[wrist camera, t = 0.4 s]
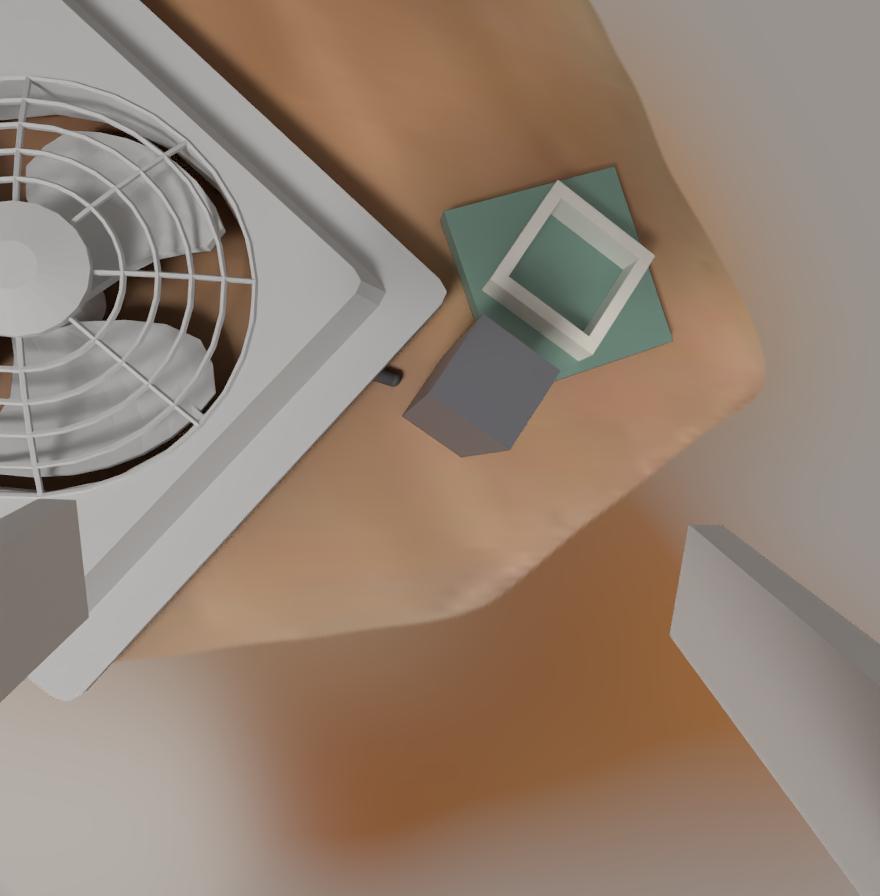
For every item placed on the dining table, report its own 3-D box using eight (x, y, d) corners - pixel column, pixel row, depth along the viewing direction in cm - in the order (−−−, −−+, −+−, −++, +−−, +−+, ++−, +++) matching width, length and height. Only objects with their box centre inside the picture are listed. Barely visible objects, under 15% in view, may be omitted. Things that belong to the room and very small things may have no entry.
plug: (402, 416, 36) (428, 393, 26) (443, 355, 36) (485, 310, 26) (461, 457, 36) (509, 450, 26) (501, 396, 37) (563, 367, 27)
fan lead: (254, 345, 34) (252, 341, 33) (258, 332, 34) (256, 328, 33) (397, 389, 36) (398, 387, 35) (400, 376, 36) (402, 374, 35)
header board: (440, 219, 37) (450, 195, 33) (605, 175, 39) (629, 149, 36) (501, 399, 37) (517, 392, 34) (662, 344, 39) (691, 333, 36)
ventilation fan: (-592, 268, 23) (-5, -178, 27) (-387, 315, 29) (62, -53, 33) (21, 747, 25) (468, 264, 29) (87, 693, 31) (446, 303, 36)
